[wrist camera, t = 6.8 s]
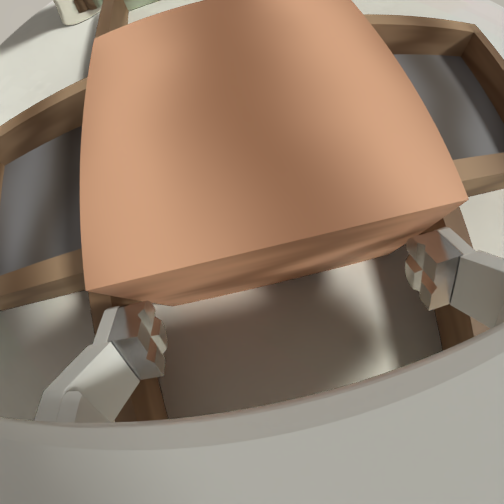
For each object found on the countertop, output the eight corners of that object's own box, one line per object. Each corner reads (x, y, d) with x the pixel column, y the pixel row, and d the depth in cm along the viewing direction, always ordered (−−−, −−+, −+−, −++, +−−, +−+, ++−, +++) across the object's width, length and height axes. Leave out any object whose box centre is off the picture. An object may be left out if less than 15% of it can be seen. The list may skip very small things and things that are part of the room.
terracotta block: (173, 306, 14) (85, 291, 7) (149, 124, 16) (94, 38, 9) (389, 254, 14) (468, 199, 7) (323, 84, 16) (336, -17, 9)
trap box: (27, 458, 13) (-3, 470, 10) (28, 56, 20) (12, 38, 17) (572, 323, 11) (603, 320, 8) (385, -30, 19) (390, -52, 16)
